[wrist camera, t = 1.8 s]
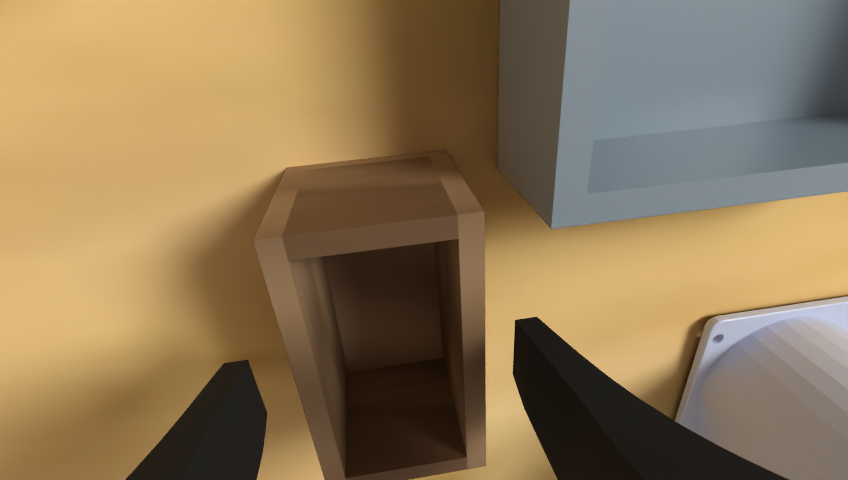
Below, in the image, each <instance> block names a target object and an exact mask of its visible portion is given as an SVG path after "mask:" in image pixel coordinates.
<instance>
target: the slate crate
mask: <svg viewBox="0 0 848 480" xmlns="http://www.w3.org/2000/svg"><path fill="white" fill-rule="evenodd" d="M498 170H499V171H500V172H501V173H502V174H503V175H504V176H505V178H506V179H507V180H508V181H509V182H510V183H511V184H512V185H513V187H514V188H515V189H516V190H517V191H518V192H519V193H520V194H521V196H522V197H523V198H524V199H525V200H526V201H527V202H528V204H529V205H530V206H531V207H532V208H533V209H534V210H535V211H536V213H537V214H538V215H539V216H540V217H541V218H542V219H543V220H544V222H545V223H546V224H547V225H548V226H549V227H550V228H551V229H556V228H564V227H572V226H580V225H588V224H595V223H603V222H611V221H619V220H627V219H635V218H642V217H650V216H658V215H666V214H674V213H682V212H690V211H697V210H705V209H713V208H721V207H729V206H737V205H744V204H752V203H760V202H768V201H776V200H784V199H792V198H799V197H807V196H815V195H823V194H831V193H839V192H847V191H848V0H500V29H499V104H498Z"/></svg>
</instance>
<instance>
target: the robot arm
mask: <svg viewBox="0 0 848 480" xmlns="http://www.w3.org/2000/svg"><path fill="white" fill-rule="evenodd" d="M513 376H514V379H515V382H516V385H517V388H518V391H519V394H520V397H521V400H522V403H523V406H524V409H525V411H526V413H527V415H528V417H529V420H530V422H531V424H532V426H533V428H534V430H535V432H536V435H537V437H538V439H539V441H540V443H541V445H542V447H543V449H544V451H545V454H546V456H547V458H548V460H549V462H550V464H551V466H552V468H553V471H554V473H555V475H556V477H557V479H558V480H848V296H846V297H840V298H833V299H826V300H820V301H813V302H807V303H800V304H793V305H787V306H780V307H773V308H767V309H760V310H753V311H747V312H740V313H733V314H727V315H720V316H715V317H713V318H711V319H709V320H708V321H707V322H706V324H705V326H704V329H703V333H702V336H701V339H700V342H699V345H698V349H697V352H696V355H695V358H694V361H693V364H692V368H691V371H690V374H689V377H688V380H687V384H686V387H685V390H684V393H683V396H682V399H681V403H680V406H679V409H678V412H677V415H676V419H675V421H674V420H672V419H670V418H669V417H667V416H666V415H664V414H663V413H661V412H659V411H658V410H656V409H655V408H653V407H651V406H650V405H648V404H647V403H645V402H644V401H642V400H641V399H639V398H638V397H636V396H635V395H633V394H632V393H630V392H629V391H628V390H626V389H625V388H623V387H622V386H621V385H619V384H618V383H616V382H615V381H614V380H612V379H611V378H610V377H608V376H607V375H606V374H604V373H603V372H602V371H601V370H599V369H598V368H597V367H596V366H594V365H593V364H592V363H591V362H589V361H588V360H587V359H586V358H584V357H583V356H582V355H581V354H579V353H578V352H577V351H576V350H575V349H573V348H572V347H571V346H570V345H569V344H568V343H566V342H565V341H564V340H563V339H562V338H561V337H559V336H558V335H557V334H556V333H555V332H554V331H553V330H551V329H550V328H549V327H548V326H547V325H546V324H545V323H543V322H542V321H541V320H540V319H539V318H537V317H532V318H526V319H519V320H515V338H514V361H513ZM266 420H267V411H266V409H265V406H264V403H263V400H262V398H261V395H260V392H259V389H258V387H257V384H256V381H255V378H254V376H253V373H252V370H251V367H250V365H249V362H248V360H243V361H237V362H230V363H224V364H223V365H222V366H221V368H220V369H219V370H218V371H217V372H216V374H215V375H214V376H213V377H212V378H211V380H210V381H209V382H208V383H207V385H206V386H205V387H204V388H203V390H202V391H201V392H200V393H199V395H198V396H197V397H196V398H195V400H194V401H193V402H192V403H191V405H190V406H189V407H188V408H187V410H186V411H185V412H184V413H183V415H182V416H181V417H180V418H179V419H178V421H177V422H176V423H175V424H174V425H173V427H172V428H171V429H170V430H169V431H168V433H167V434H166V435H165V436H164V437H163V438H162V440H161V441H160V442H159V443H158V444H157V445H156V446H155V448H154V449H153V450H152V451H151V452H150V453H149V454H148V455H147V456H146V458H145V459H144V460H143V461H142V462H141V463H140V464H139V465H138V467H137V468H136V469H135V470H134V471H133V472H132V473H131V474H130V475H129V476H128V477H127V478H126V480H256V479H257V475H258V471H259V467H260V462H261V458H262V454H263V447H264V439H265V430H266Z"/></svg>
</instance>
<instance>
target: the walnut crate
mask: <svg viewBox="0 0 848 480" xmlns="http://www.w3.org/2000/svg"><path fill="white" fill-rule="evenodd" d="M253 243H254V246H255V249H256V253H257V256H258V259H259V263H260V266H261V269H262V273H263V276H264V279H265V283H266V286H267V289H268V293H269V296H270V299H271V302H272V306H273V309H274V312H275V316H276V319H277V322H278V326H279V329H280V332H281V336H282V339H283V342H284V346H285V349H286V352H287V356H288V359H289V362H290V366H291V369H292V372H293V376H294V379H295V382H296V386H297V389H298V392H299V396H300V399H301V402H302V405H303V409H304V412H305V415H306V419H307V422H308V425H309V429H310V432H311V435H312V439H313V442H314V445H315V449H316V452H317V455H318V459H319V462H320V465H321V469H322V472H323V475H324V479H325V480H409V479H415V478H420V477H426V476H432V475H437V474H443V473H449V472H455V471H460V470H466V469H472V468H477V467H483V466H486V405H485V211H484V210H483V208H482V207H481V205H480V204H479V202H478V200H477V199H476V197H475V196H474V194H473V193H472V191H471V189H470V188H469V186H468V185H467V183H466V182H465V180H464V178H463V177H462V175H461V174H460V172H459V171H458V169H457V167H456V166H455V164H454V163H453V161H452V160H451V158H450V156H449V155H448V153H447V152H446V150H442V151H433V152H424V153H415V154H406V155H397V156H388V157H378V158H369V159H360V160H351V161H342V162H333V163H324V164H315V165H306V166H297V167H288V168H286V170H285V172H284V175H283V177H282V179H281V181H280V183H279V185H278V187H277V190H276V192H275V194H274V196H273V198H272V200H271V202H270V205H269V207H268V209H267V211H266V213H265V215H264V217H263V220H262V222H261V224H260V226H259V228H258V230H257V232H256V235H255V237H254V239H253Z"/></svg>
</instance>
